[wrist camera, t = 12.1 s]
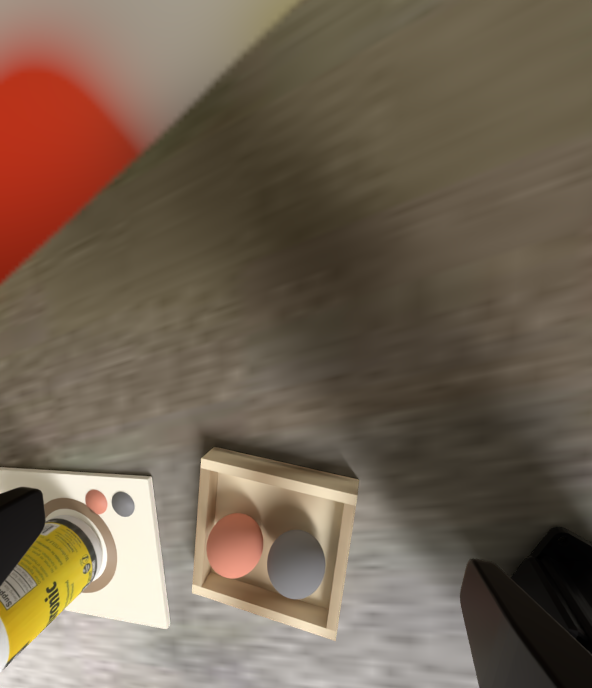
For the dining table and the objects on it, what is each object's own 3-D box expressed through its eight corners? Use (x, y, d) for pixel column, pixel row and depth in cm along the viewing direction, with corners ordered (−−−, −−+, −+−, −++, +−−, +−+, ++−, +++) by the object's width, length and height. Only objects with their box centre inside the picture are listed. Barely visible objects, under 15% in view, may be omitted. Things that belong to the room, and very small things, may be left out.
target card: (151, 476, 22) (147, 479, 22) (170, 624, 24) (166, 630, 23) (-6, 466, 26) (-13, 469, 25) (18, 596, 27) (12, 601, 27)
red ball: (279, 520, 20) (261, 560, 17) (257, 559, 21) (236, 604, 18) (234, 492, 21) (209, 526, 18) (214, 531, 21) (187, 570, 18)
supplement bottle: (90, 596, 25) (-92, 780, 15) (35, 550, 25) (-169, 698, 16) (117, 543, 23) (-62, 707, 14) (59, 497, 24) (-148, 623, 15)
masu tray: (359, 479, 19) (357, 495, 18) (338, 615, 21) (335, 641, 19) (214, 446, 21) (201, 458, 20) (204, 572, 22) (192, 592, 21)
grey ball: (338, 537, 19) (331, 582, 16) (314, 577, 20) (302, 627, 17) (290, 507, 20) (274, 545, 17) (268, 547, 21) (248, 591, 18)
